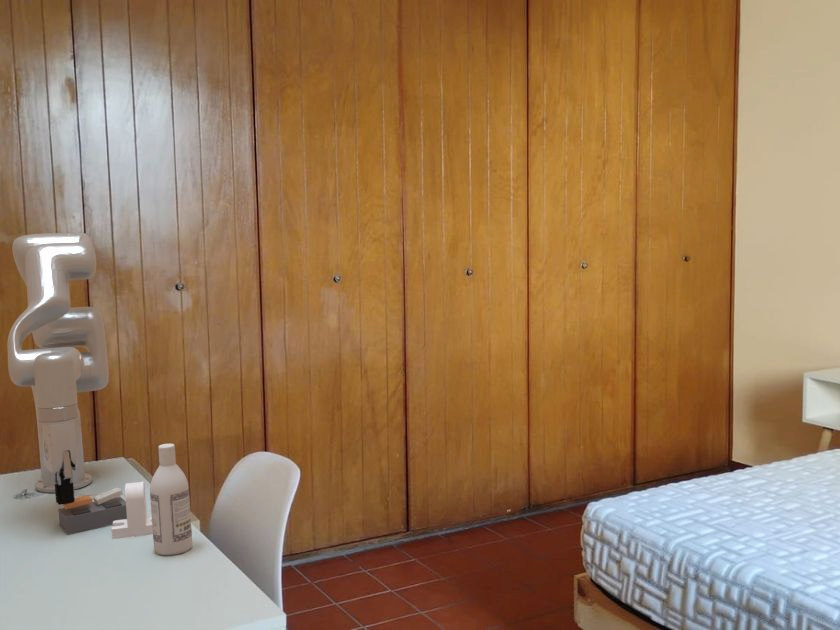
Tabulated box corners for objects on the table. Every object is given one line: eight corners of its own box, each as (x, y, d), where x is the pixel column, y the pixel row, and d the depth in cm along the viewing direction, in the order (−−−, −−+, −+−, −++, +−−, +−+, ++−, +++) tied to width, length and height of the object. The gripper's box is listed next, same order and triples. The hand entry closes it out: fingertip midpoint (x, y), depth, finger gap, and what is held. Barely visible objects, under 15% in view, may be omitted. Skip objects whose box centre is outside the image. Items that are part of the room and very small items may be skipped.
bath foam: (196, 541, 161) (190, 439, 159) (186, 555, 155) (179, 449, 152) (161, 542, 162) (153, 441, 159) (149, 557, 155) (141, 450, 153)
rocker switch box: (57, 522, 175) (55, 504, 175) (117, 509, 182) (116, 492, 182) (67, 534, 168) (65, 516, 167) (130, 520, 175) (129, 503, 174)
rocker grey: (94, 501, 176) (93, 496, 176) (119, 491, 179) (117, 486, 178) (98, 504, 174) (96, 499, 173) (122, 494, 176) (121, 489, 176)
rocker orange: (62, 506, 172) (61, 501, 172) (88, 499, 175) (88, 494, 175) (65, 509, 170) (64, 504, 170) (92, 502, 173) (91, 497, 173)
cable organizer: (114, 530, 170) (110, 482, 169) (165, 523, 172) (161, 476, 171) (111, 539, 165) (108, 489, 163) (164, 532, 167) (161, 483, 166)
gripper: (31, 411, 173) (38, 497, 175) (45, 422, 161) (53, 516, 163) (69, 405, 177) (76, 490, 179) (86, 416, 165) (93, 507, 167)
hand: (65, 502), depth 171 cm, fingers closed
